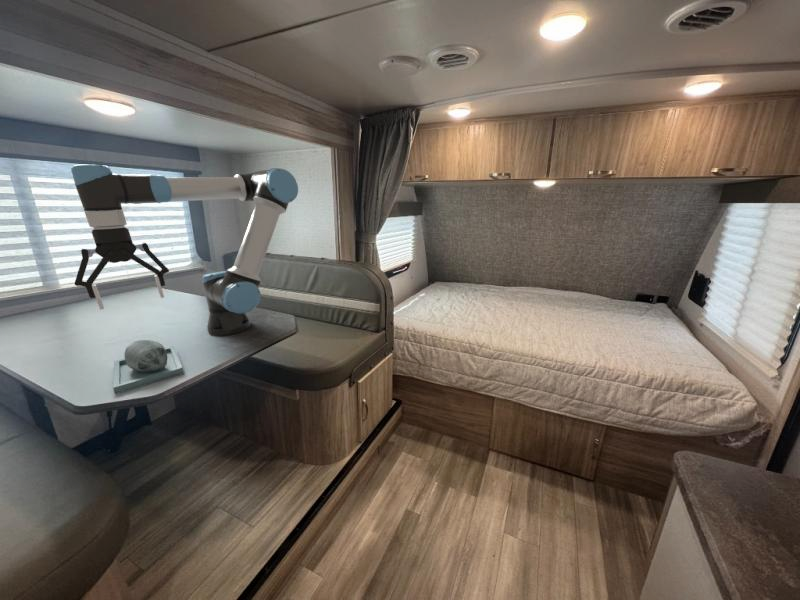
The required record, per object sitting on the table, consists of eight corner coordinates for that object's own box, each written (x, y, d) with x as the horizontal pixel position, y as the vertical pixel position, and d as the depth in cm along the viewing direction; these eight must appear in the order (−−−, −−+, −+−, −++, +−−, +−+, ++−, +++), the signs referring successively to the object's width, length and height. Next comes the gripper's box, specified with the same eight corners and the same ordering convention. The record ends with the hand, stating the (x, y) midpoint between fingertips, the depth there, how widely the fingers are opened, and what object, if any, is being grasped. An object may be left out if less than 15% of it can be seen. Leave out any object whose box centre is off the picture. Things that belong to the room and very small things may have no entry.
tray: (175, 351, 106) (174, 345, 106) (183, 373, 92) (182, 367, 92) (116, 366, 97) (114, 361, 96) (115, 394, 83) (113, 387, 82)
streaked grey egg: (179, 356, 94) (151, 333, 89) (150, 381, 89) (118, 359, 84) (168, 353, 103) (142, 332, 98) (141, 376, 98) (112, 355, 93)
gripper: (164, 223, 94) (182, 290, 101) (43, 231, 78) (74, 310, 85) (167, 224, 89) (186, 295, 95) (39, 233, 73) (72, 317, 80)
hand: (133, 302), depth 90 cm, fingers open, 13 cm apart
